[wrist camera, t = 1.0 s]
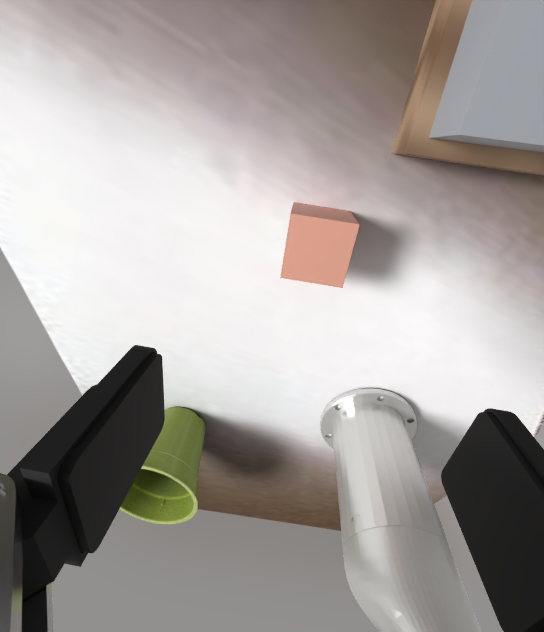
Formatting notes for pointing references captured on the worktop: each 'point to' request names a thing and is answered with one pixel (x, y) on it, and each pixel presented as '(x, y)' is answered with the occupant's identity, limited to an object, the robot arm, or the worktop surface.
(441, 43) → the lower block
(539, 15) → the upper block
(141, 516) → the plant pot
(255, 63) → the worktop surface
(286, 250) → the pink cube
